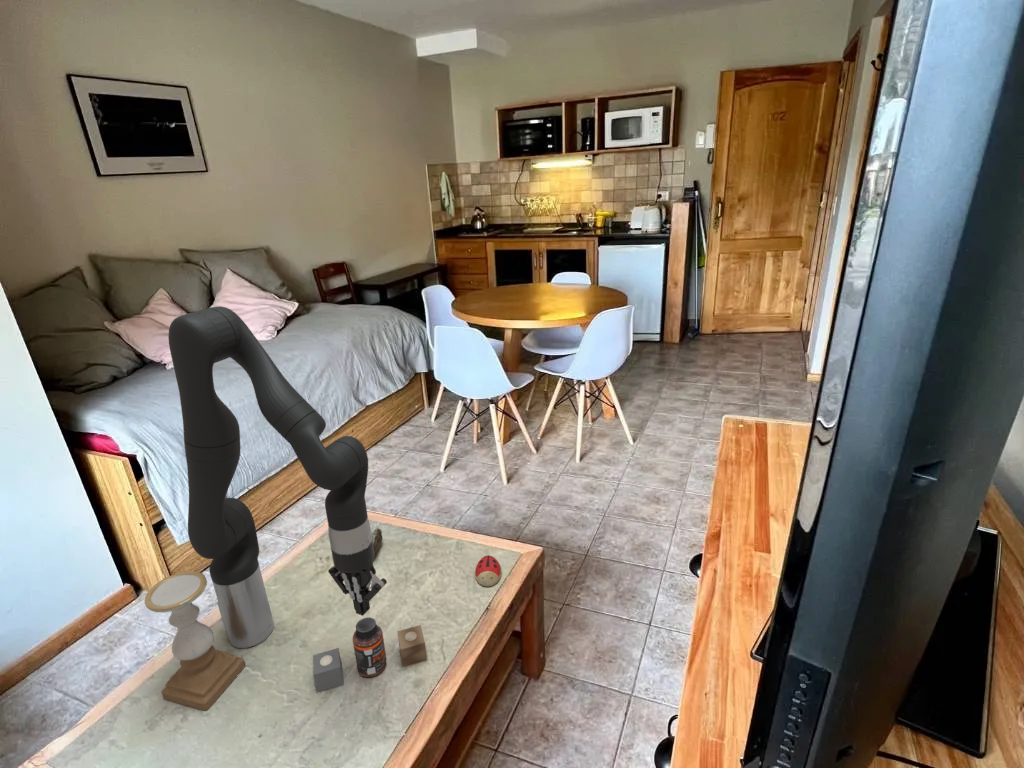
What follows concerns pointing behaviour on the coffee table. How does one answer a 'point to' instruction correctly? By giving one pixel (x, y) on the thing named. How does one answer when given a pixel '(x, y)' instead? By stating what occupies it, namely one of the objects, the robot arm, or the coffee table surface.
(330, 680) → the charcoal dotted block
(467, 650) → the coffee table surface
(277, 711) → the coffee table surface
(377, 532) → the rock sample
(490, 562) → the ladybug figurine
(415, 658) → the walnut dotted block
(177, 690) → the candle holder
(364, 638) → the supplement bottle
